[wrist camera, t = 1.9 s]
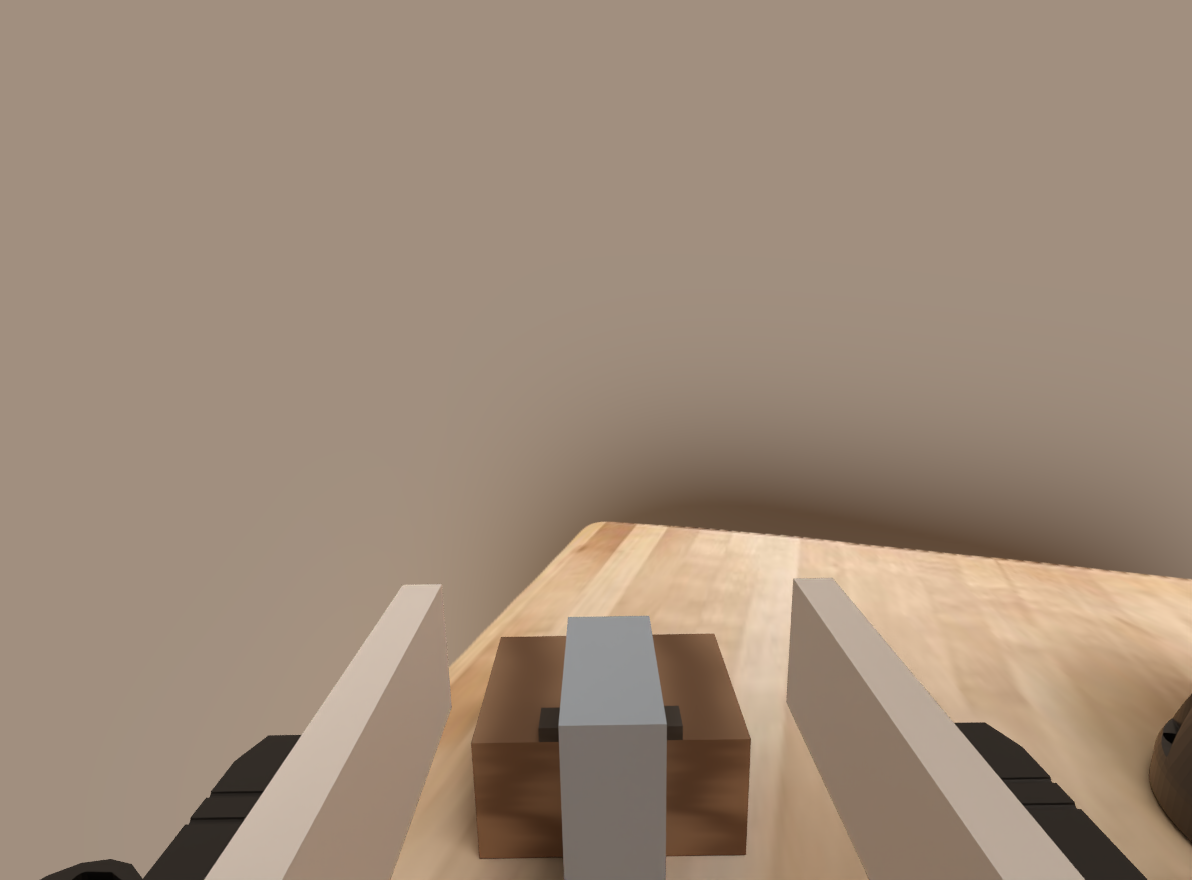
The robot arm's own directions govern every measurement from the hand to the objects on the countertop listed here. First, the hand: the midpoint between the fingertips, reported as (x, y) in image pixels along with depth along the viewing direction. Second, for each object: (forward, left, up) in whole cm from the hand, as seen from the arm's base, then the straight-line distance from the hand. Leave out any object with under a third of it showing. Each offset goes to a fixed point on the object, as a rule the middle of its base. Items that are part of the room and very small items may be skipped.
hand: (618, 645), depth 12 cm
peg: (0, -13, -22) cm, 25 cm away
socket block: (0, -21, -22) cm, 30 cm away
